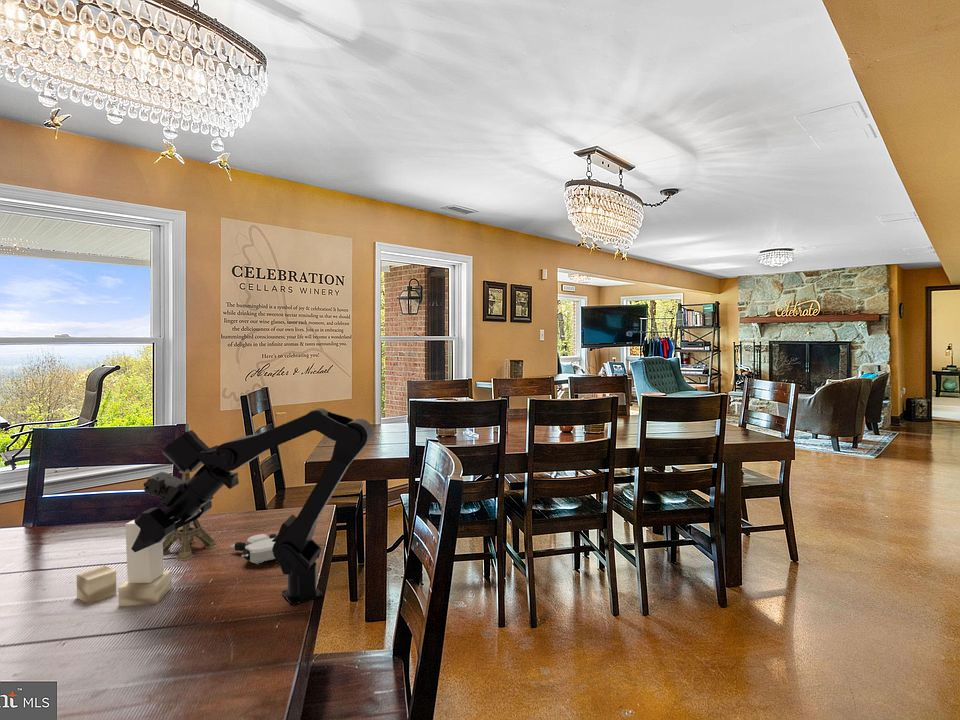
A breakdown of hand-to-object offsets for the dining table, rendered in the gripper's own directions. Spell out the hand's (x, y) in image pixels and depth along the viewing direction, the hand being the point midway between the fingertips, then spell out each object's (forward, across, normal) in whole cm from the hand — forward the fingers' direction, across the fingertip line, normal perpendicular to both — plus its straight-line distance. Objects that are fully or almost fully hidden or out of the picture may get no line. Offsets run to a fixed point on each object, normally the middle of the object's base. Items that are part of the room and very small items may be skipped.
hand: (148, 541), depth 107 cm
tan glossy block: (+9, 0, +8) cm, 12 cm away
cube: (+16, 0, 0) cm, 16 cm away
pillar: (+6, 0, +5) cm, 8 cm away
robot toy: (-2, -21, +19) cm, 28 cm away
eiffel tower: (+12, -24, +4) cm, 28 cm away
